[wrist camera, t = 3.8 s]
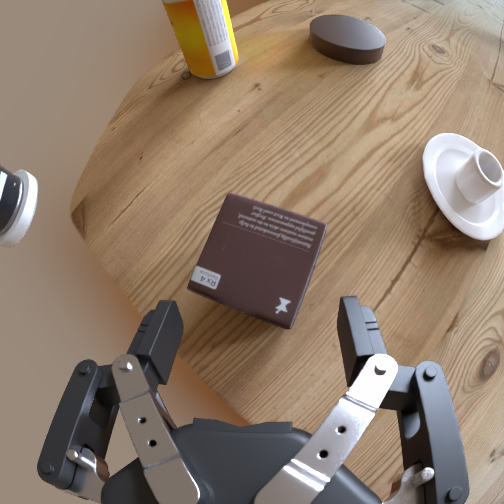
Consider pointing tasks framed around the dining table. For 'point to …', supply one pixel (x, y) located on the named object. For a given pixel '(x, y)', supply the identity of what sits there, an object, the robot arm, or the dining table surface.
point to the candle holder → (465, 185)
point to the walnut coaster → (346, 39)
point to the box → (258, 259)
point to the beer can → (204, 35)
